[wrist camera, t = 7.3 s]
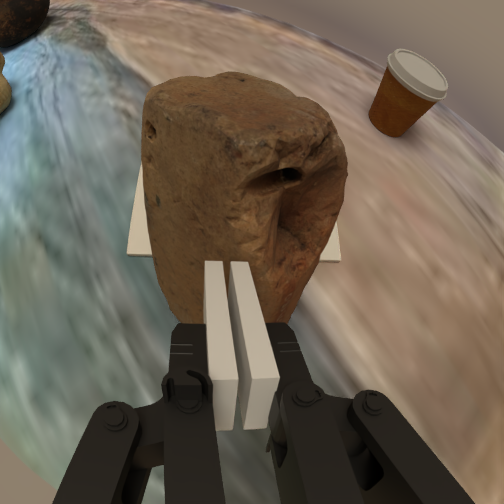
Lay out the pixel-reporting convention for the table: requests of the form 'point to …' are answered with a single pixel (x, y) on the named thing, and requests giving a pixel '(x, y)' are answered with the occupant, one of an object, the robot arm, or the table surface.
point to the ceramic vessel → (4, 87)
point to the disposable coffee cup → (406, 92)
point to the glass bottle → (20, 19)
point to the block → (238, 187)
